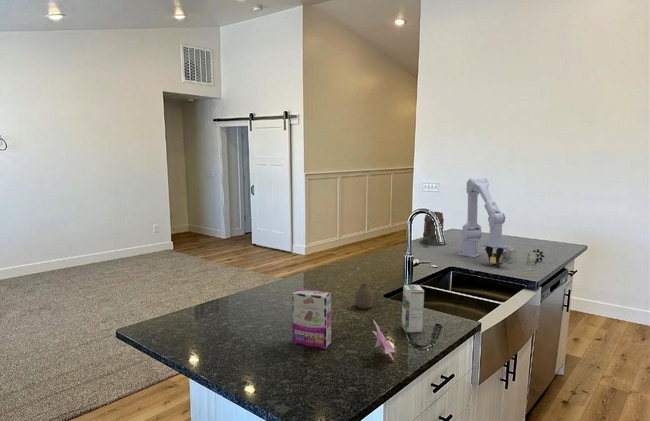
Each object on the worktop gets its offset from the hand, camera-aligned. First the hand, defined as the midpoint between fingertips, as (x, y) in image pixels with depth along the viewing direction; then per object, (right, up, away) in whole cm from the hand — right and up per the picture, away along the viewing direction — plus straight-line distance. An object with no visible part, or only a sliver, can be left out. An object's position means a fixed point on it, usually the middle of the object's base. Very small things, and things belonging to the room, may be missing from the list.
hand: (493, 261), depth 222 cm
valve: (+24, -2, +7) cm, 25 cm away
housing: (+10, -1, +12) cm, 15 cm away
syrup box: (-58, -13, -78) cm, 98 cm away
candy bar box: (-91, -15, -89) cm, 128 cm away
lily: (-71, -16, -97) cm, 121 cm away
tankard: (-20, +5, +51) cm, 55 cm away
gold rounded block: (+2, -2, +3) cm, 4 cm away
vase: (-72, -11, -58) cm, 93 cm away
